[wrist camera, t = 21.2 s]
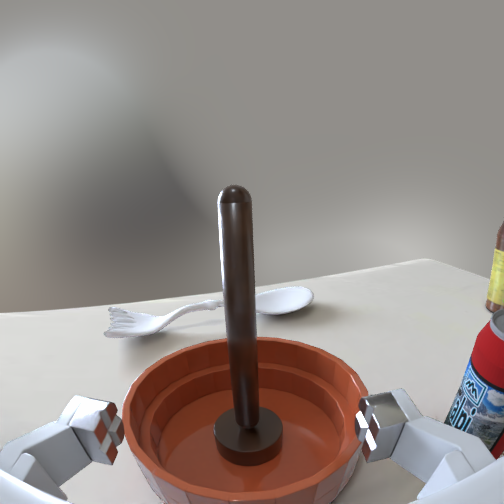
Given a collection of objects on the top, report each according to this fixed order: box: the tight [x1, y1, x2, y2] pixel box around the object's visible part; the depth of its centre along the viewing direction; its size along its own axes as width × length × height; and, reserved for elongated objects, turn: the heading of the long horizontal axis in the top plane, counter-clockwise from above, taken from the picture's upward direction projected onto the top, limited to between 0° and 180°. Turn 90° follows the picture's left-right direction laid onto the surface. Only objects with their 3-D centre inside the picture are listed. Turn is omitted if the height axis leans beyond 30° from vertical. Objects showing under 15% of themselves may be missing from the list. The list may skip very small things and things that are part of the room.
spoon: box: [104, 286, 314, 338], centre depth 43 cm, size 9×32×4 cm, turn 111°
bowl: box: [122, 337, 369, 504], centre depth 19 cm, size 17×17×6 cm
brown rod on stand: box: [214, 185, 283, 466], centre depth 17 cm, size 5×5×19 cm
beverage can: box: [444, 309, 504, 460], centre depth 13 cm, size 7×7×12 cm
